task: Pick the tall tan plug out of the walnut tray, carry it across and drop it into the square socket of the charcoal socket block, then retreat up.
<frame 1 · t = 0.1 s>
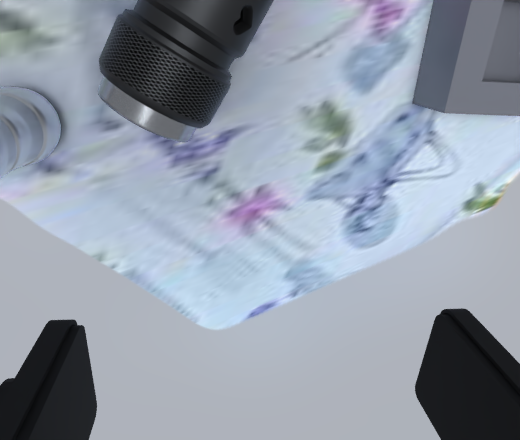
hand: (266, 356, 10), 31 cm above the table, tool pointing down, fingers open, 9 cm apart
plastic bottle: (32, 120, 36), on the table
socket block: (483, 42, 38), on the table
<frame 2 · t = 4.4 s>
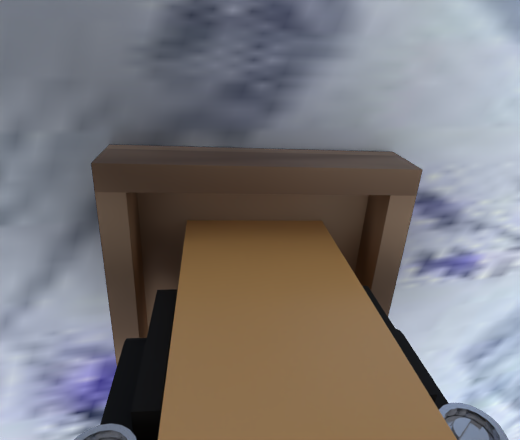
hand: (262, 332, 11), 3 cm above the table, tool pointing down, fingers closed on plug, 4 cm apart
plug: (252, 278, 14), point 1 cm above the table, touching gripper, tray
tray: (251, 270, 14), on the table
when the fingers open (7 cm above the table, at t = 10.0 s): plug drops 1 cm, resting on socket block.
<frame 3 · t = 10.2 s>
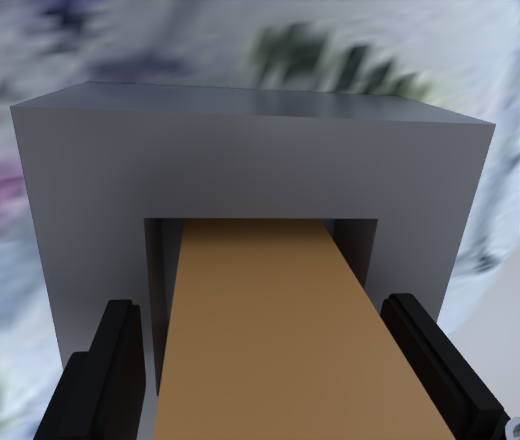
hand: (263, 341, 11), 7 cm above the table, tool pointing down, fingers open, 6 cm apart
plug: (248, 256, 15), point 2 cm above the table, touching socket block
socket block: (244, 229, 17), on the table
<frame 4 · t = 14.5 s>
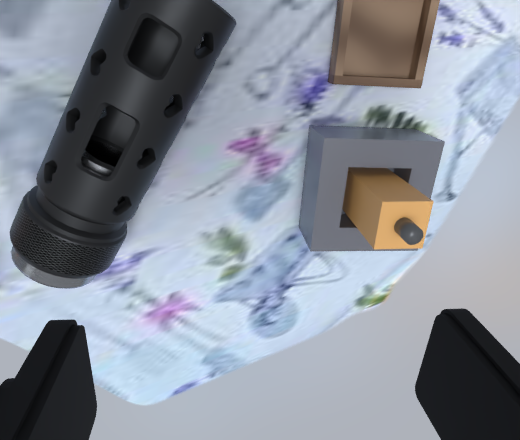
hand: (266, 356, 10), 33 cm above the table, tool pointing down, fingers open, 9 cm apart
plug: (362, 186, 43), point 2 cm above the table, touching socket block
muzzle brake: (127, 128, 40), on the table
tray: (378, 35, 39), on the table
socket block: (354, 179, 45), on the table
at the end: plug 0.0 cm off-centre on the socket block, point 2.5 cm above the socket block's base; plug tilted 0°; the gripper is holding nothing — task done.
